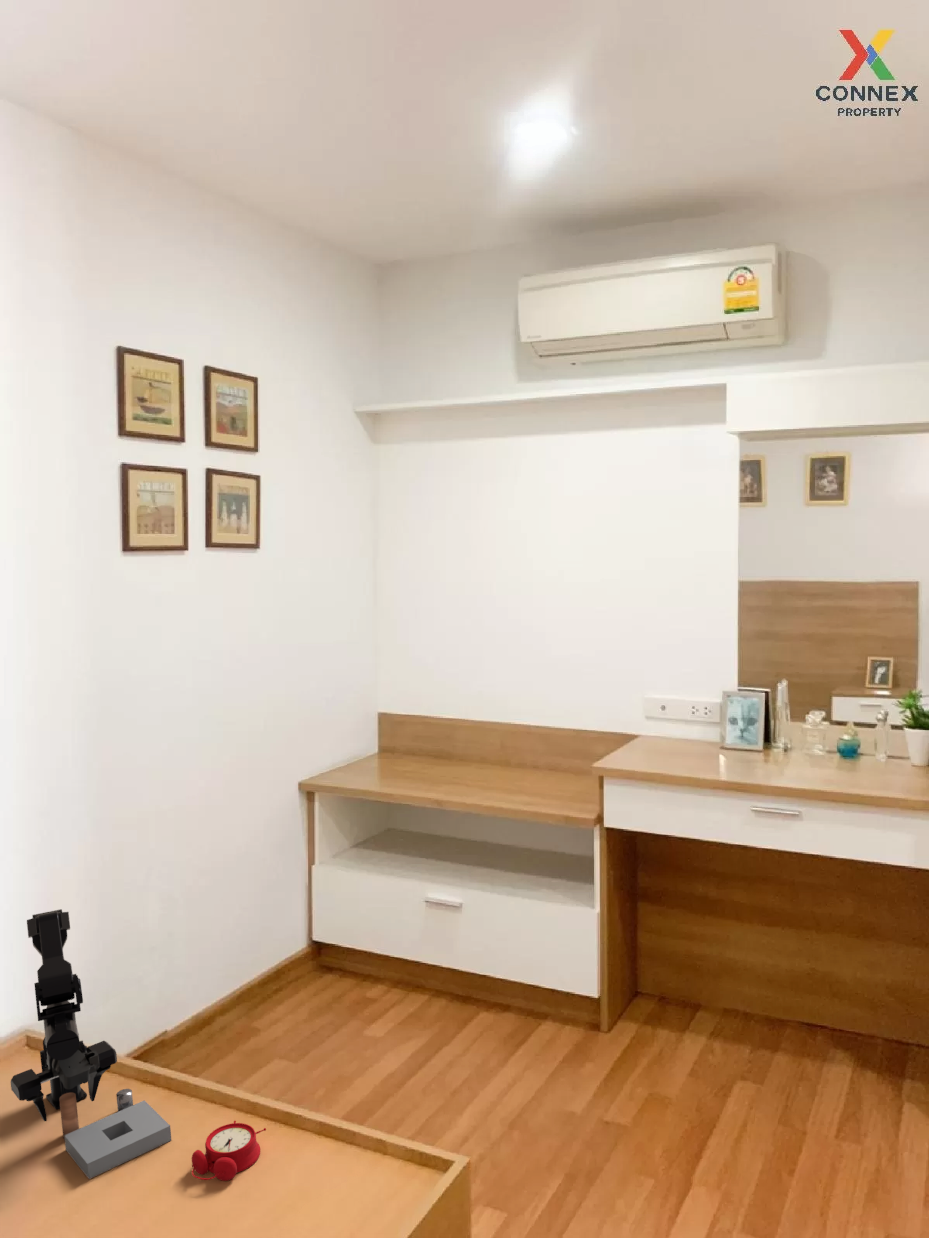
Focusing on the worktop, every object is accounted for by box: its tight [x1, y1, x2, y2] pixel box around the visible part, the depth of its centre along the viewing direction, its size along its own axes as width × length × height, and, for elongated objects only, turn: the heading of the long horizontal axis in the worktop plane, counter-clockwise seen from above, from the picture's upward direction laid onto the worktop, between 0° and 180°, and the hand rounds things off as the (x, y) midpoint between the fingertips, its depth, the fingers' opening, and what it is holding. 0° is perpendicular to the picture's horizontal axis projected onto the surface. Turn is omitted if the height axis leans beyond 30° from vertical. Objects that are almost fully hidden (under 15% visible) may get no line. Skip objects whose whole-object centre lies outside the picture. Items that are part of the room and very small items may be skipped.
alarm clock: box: [191, 1120, 267, 1182], centre depth 187 cm, size 10×6×15 cm
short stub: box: [115, 1088, 134, 1112], centre depth 205 cm, size 3×3×4 cm
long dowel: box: [59, 1093, 80, 1140], centre depth 197 cm, size 3×3×8 cm
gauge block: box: [64, 1100, 172, 1180], centre depth 194 cm, size 12×16×3 cm
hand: (68, 1110), depth 197 cm, fingers open, 9 cm apart
